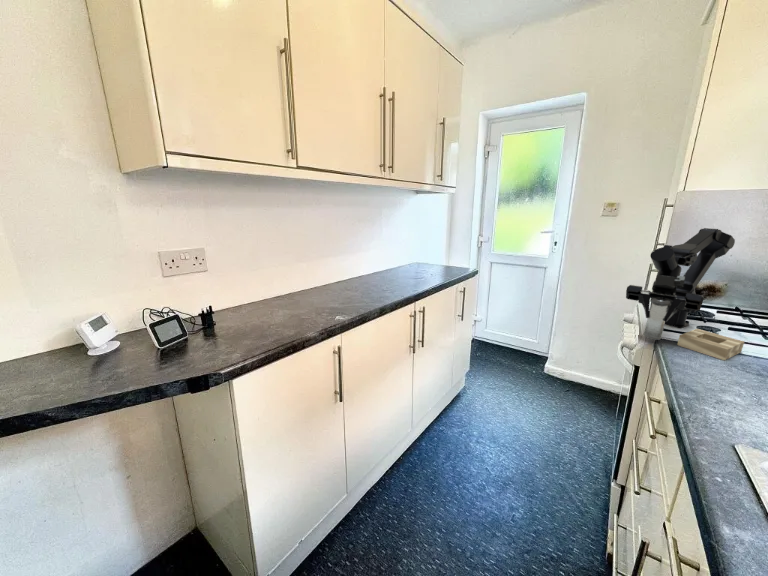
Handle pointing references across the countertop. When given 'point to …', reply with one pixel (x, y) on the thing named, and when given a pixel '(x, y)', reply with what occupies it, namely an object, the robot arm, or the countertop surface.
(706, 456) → the countertop surface
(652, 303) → the capped cylinder
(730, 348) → the housing
